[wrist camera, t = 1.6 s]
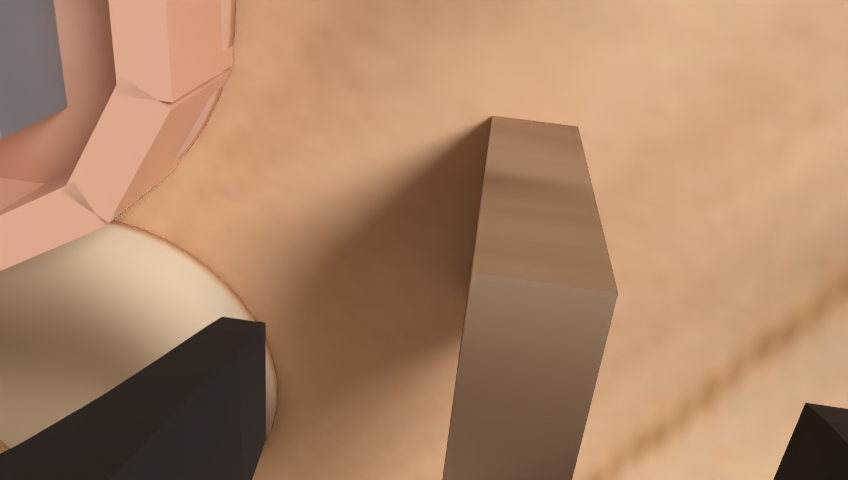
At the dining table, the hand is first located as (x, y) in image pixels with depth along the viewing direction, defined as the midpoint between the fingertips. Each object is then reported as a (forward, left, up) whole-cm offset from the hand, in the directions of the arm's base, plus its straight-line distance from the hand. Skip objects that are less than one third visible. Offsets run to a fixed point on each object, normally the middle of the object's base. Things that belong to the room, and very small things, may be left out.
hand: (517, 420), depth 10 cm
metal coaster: (-6, +10, -7) cm, 14 cm away
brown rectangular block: (0, 0, -7) cm, 7 cm away
